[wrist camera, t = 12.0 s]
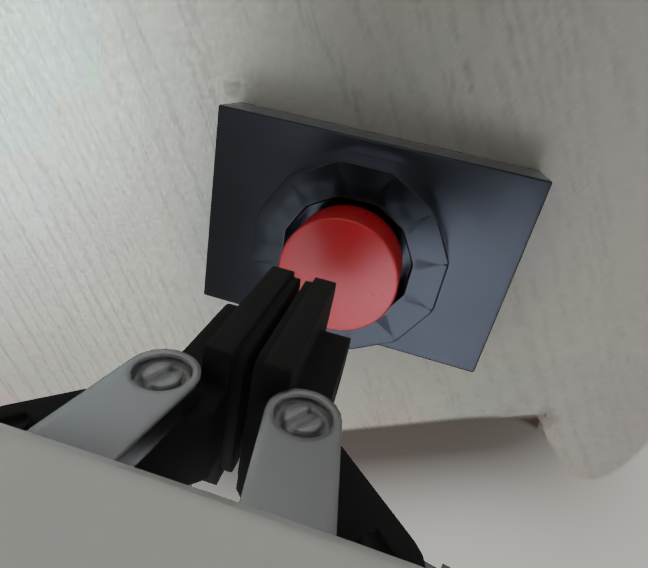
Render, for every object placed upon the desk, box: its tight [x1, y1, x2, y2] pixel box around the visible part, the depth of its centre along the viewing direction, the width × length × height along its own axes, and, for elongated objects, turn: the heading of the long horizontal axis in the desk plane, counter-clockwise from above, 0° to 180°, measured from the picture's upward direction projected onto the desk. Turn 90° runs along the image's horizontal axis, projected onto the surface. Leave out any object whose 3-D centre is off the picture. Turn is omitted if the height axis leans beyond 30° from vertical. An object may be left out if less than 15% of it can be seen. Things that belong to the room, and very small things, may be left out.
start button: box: [279, 205, 403, 331], centre depth 16 cm, size 4×4×2 cm
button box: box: [204, 102, 552, 372], centre depth 18 cm, size 12×8×4 cm, turn 79°
